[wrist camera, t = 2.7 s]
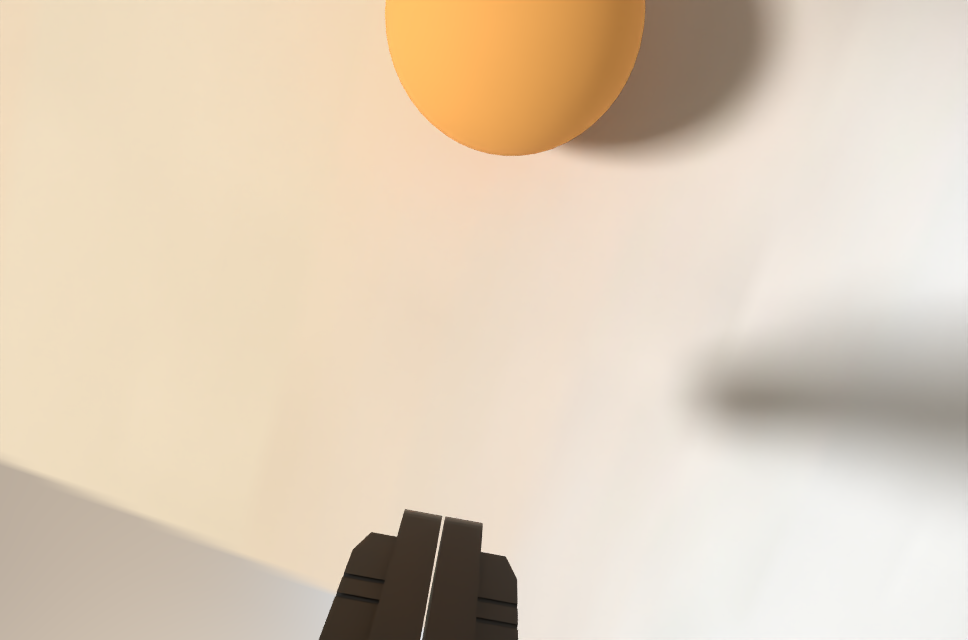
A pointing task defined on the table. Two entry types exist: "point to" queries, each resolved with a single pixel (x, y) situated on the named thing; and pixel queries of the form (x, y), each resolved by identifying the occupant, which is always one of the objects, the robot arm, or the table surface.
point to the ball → (513, 66)
